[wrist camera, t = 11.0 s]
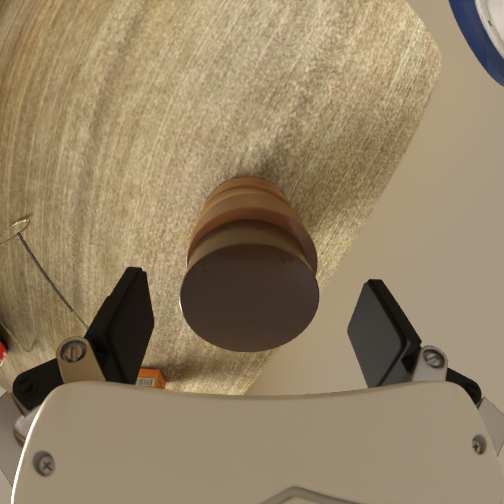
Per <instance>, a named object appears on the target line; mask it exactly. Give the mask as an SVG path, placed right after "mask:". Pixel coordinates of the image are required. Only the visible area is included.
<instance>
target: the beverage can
mask: <svg viewBox="0 0 504 504" xmlns="http://www.w3.org/2000/svg"><path fill="white" fill-rule="evenodd" d="M7 352H8V350H7V347H6V345H5V343H4V342H3V340H2V339H1V338H0V366H1V364H2V362H3V361H4V359H5V357H6V356H7Z"/></svg>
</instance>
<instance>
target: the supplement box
mask: <svg viewBox="0 0 504 504" xmlns="http://www.w3.org/2000/svg"><path fill="white" fill-rule="evenodd" d="M136 385H137V386H144V387H150V388H158V389H165V385H166V382H165V380H164V378H163V376H162V374H161V372H160V370H159V369H146V368H140V371H139V374H138V378H137V381H136Z"/></svg>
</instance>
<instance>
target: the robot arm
mask: <svg viewBox="0 0 504 504" xmlns="http://www.w3.org/2000/svg"><path fill="white" fill-rule="evenodd" d="M475 5H476V8H477V12H478V14H479V17H480V19H481V22H482V24H483V26H484V28H485V30H486V32H487V34H488V36H489V38H490V40H491V41H492V43H493V45H494V46H495V48H496V49H497V51H498V52H499V54H500V55H501V56H502V57H503V59H504V0H475ZM153 328H154V316H153V310H152V305H151V299H150V293H149V287H148V281H147V274H146V272H145V271H142V268H139V267H128V268H127V269H126V271H125V272H124V274H123V275H122V277H121V278H120V280H119V282H118V283H117V285H116V286H115V288H114V290H113V291H112V293H111V295H109V296H108V297H107V298H106V299H105V301H104V303H103V304H102V306H101V308H100V309H99V311H98V313H97V315H96V316H95V318H94V320H93V322H92V323H91V325H90V327H89V329H88V330H87V332H86V334H85V336H84V338H83V337H80V336H73V337H69V338H67V339H65V340H64V341H63V342H61V343H60V345H59V346H58V348H57V351H56V357H57V358H55V359H52V360H50V361H48V362H46V363H43V364H41V365H39V366H36V367H34V368H32V369H30V370H27V371H25V372H23V373H21V374H19V375H18V376H17V377H16V379H15V381H14V382H13V387H12V388H13V391H12V392H11V393H10V392H9V391H7V392H5V393H4V394H3V395H2V396H1V397H0V468H1V470H2V472H3V473H4V475H5V477H6V478H7V480H8V481H9V483H10V484H11V486H12V487H13V494H12V502H11V504H504V479H503V475H502V472H501V467H500V464H499V461H498V458H497V457H498V455H499V452H500V450H501V448H502V446H503V444H504V414H503V413H502V412H501V411H500V410H499V409H498V408H497V407H496V406H494V405H493V404H492V403H491V402H490V401H489V400H488V399H487V398H485V397H483V398H481V390H480V387H479V386H478V384H477V383H476V382H474V381H473V380H471V379H469V378H467V377H465V376H463V375H461V374H459V373H458V372H456V371H454V370H452V369H450V368H448V367H447V366H448V360H447V357H446V355H445V354H444V353H443V352H442V351H441V350H440V349H439V348H437V347H434V346H424V347H423V348H421V346H420V344H421V342H422V341H421V339H420V338H419V336H418V334H417V333H416V331H415V330H414V328H413V326H412V325H411V323H410V322H409V320H408V318H407V317H406V315H405V314H404V312H403V311H402V309H401V308H400V306H399V305H398V303H397V302H396V300H395V299H394V297H393V296H392V294H391V293H390V291H389V290H388V288H387V287H386V285H385V284H384V282H383V281H382V280H379V279H378V280H377V279H370V280H368V281H367V282H366V283H365V284H364V285H363V288H362V291H361V294H360V297H359V299H358V302H357V305H356V307H355V310H354V313H353V315H352V318H351V321H350V323H349V325H348V329H347V330H348V331H347V332H348V336H349V339H350V341H351V343H352V346H353V349H354V351H355V354H356V357H357V359H358V362H359V365H360V367H361V370H362V373H363V375H364V378H365V381H366V383H367V386H368V388H366V389H359V390H351V391H342V392H332V393H320V394H305V395H282V396H281V395H280V396H246V395H220V394H205V393H193V392H183V391H175V390H166V389H158V388H150V387H144V386H137V385H136V381H137V378H138V374H139V371H140V368H141V365H142V362H143V358H144V355H145V352H146V349H147V346H148V343H149V340H150V337H151V334H152V331H153Z"/></svg>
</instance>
